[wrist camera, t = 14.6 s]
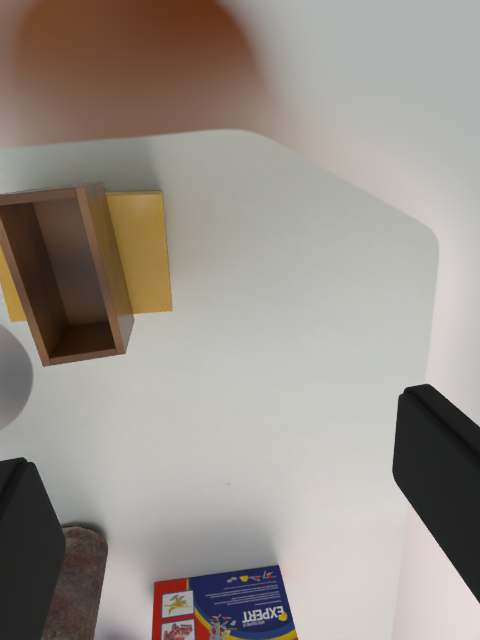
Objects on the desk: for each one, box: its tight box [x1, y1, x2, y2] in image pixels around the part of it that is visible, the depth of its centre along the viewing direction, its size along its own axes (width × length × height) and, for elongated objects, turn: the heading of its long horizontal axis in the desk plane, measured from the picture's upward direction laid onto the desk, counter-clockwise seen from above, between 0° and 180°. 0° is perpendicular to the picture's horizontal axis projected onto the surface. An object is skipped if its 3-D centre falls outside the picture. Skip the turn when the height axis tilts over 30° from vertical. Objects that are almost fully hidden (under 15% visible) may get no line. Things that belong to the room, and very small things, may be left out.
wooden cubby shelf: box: [0, 182, 134, 367], centre depth 24 cm, size 10×5×6 cm, turn 6°
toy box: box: [152, 566, 298, 640], centre depth 49 cm, size 18×4×12 cm, turn 88°
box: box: [0, 191, 172, 322], centre depth 30 cm, size 12×9×8 cm
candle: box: [41, 526, 108, 640], centre depth 38 cm, size 8×7×20 cm
